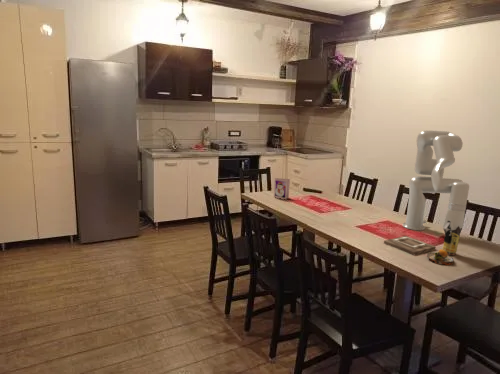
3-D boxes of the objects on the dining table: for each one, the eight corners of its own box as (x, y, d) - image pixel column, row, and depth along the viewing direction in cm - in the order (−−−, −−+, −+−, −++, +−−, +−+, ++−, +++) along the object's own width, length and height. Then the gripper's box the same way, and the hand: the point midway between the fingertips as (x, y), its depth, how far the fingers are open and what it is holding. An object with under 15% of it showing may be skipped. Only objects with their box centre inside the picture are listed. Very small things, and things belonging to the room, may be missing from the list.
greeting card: (273, 197, 293) (274, 178, 290) (278, 195, 299) (279, 177, 296) (285, 200, 286) (287, 180, 283) (290, 198, 292) (292, 179, 289)
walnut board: (405, 238, 212) (405, 234, 212) (435, 249, 198) (435, 244, 197) (383, 243, 203) (384, 238, 202) (413, 255, 188) (414, 250, 188)
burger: (442, 255, 190) (445, 241, 188) (459, 265, 179) (461, 250, 177) (420, 256, 188) (423, 241, 186) (435, 266, 177) (438, 250, 175)
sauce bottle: (440, 253, 192) (446, 215, 188) (444, 250, 197) (450, 213, 193) (454, 257, 188) (460, 218, 184) (458, 254, 192) (464, 216, 188)
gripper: (459, 203, 195) (453, 236, 199) (439, 206, 186) (434, 241, 189) (474, 207, 189) (468, 241, 192) (454, 210, 180) (448, 246, 183)
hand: (451, 241), depth 191 cm, fingers closed on sauce bottle, 6 cm apart
